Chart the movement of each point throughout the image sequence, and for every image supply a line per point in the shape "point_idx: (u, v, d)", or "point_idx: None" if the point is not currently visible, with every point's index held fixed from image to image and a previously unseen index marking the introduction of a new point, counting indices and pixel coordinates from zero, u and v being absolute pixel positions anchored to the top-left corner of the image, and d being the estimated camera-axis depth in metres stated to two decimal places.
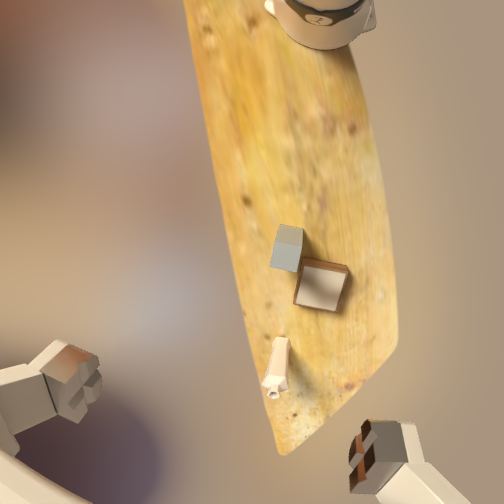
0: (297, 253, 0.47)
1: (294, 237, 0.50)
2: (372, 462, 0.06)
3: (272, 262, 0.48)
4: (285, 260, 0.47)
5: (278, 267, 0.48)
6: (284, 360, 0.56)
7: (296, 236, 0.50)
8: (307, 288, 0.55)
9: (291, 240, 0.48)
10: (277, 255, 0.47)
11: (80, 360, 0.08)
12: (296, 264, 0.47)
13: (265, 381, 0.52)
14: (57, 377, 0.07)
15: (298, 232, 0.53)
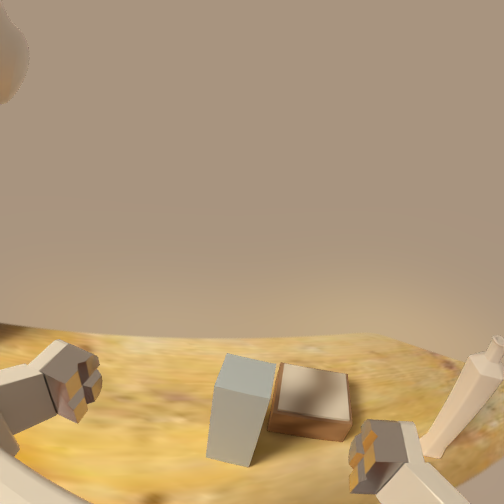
0: (239, 359, 0.25)
1: None
2: (372, 462, 0.06)
3: (259, 393, 0.21)
4: (253, 375, 0.23)
5: (268, 385, 0.22)
6: (449, 397, 0.26)
7: None
8: (317, 405, 0.29)
9: None
10: (244, 384, 0.22)
11: (80, 360, 0.08)
12: (260, 363, 0.25)
13: (493, 375, 0.21)
14: (57, 377, 0.07)
15: None
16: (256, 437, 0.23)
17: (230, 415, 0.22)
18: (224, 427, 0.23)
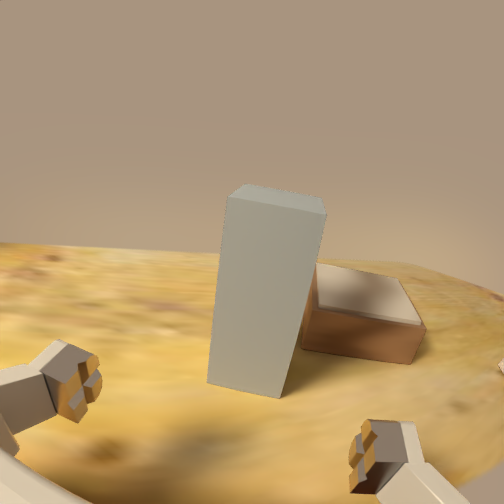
0: (264, 188, 0.16)
1: None
2: (372, 462, 0.06)
3: (306, 209, 0.13)
4: (290, 198, 0.15)
5: (318, 207, 0.14)
6: None
7: None
8: (373, 303, 0.21)
9: None
10: (278, 201, 0.14)
11: (80, 360, 0.08)
12: (298, 194, 0.16)
13: None
14: (57, 377, 0.07)
15: None
16: (298, 320, 0.14)
17: (253, 267, 0.14)
18: (241, 301, 0.14)
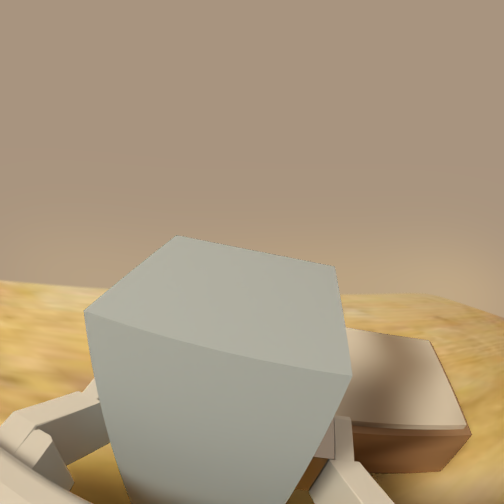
0: (212, 248, 0.08)
1: None
2: None
3: (296, 355, 0.04)
4: (262, 288, 0.06)
5: (329, 323, 0.05)
6: None
7: None
8: (401, 401, 0.12)
9: None
10: (222, 316, 0.05)
11: None
12: (284, 260, 0.08)
13: None
14: None
15: None
16: None
17: (172, 448, 0.05)
18: (163, 482, 0.06)
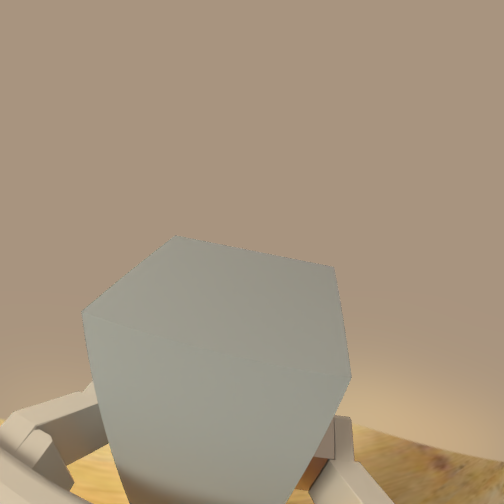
0: (210, 249, 0.08)
1: None
2: None
3: (295, 356, 0.04)
4: (260, 289, 0.06)
5: (328, 324, 0.05)
6: None
7: None
8: None
9: None
10: (220, 317, 0.05)
11: None
12: (283, 261, 0.08)
13: None
14: None
15: None
16: None
17: (170, 449, 0.05)
18: (162, 482, 0.06)
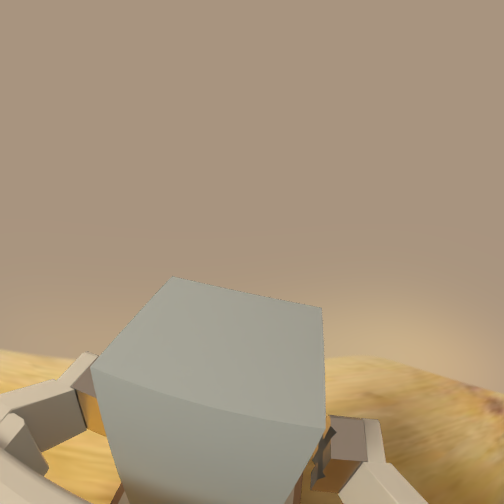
0: (204, 292, 0.08)
1: None
2: (328, 459, 0.06)
3: (277, 409, 0.05)
4: (250, 338, 0.07)
5: (309, 375, 0.06)
6: None
7: None
8: None
9: None
10: (213, 371, 0.05)
11: None
12: (273, 303, 0.08)
13: None
14: (91, 393, 0.07)
15: None
16: None
17: (171, 474, 0.06)
18: (164, 500, 0.06)
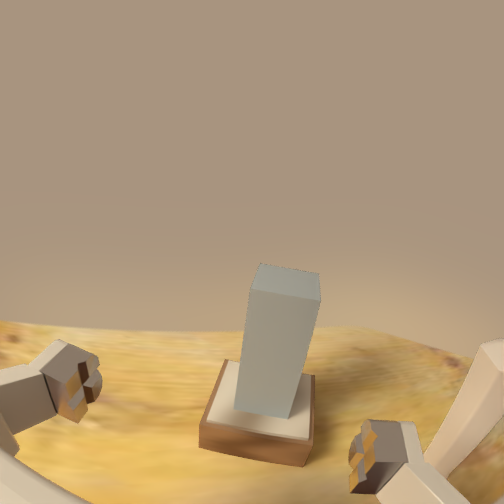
0: (275, 268, 0.21)
1: None
2: (372, 462, 0.06)
3: (306, 296, 0.18)
4: (295, 281, 0.20)
5: (315, 290, 0.19)
6: (453, 406, 0.17)
7: None
8: (264, 416, 0.21)
9: None
10: (286, 288, 0.19)
11: (80, 360, 0.08)
12: (300, 272, 0.21)
13: None
14: (57, 377, 0.07)
15: None
16: (300, 368, 0.20)
17: (268, 334, 0.19)
18: (260, 356, 0.20)
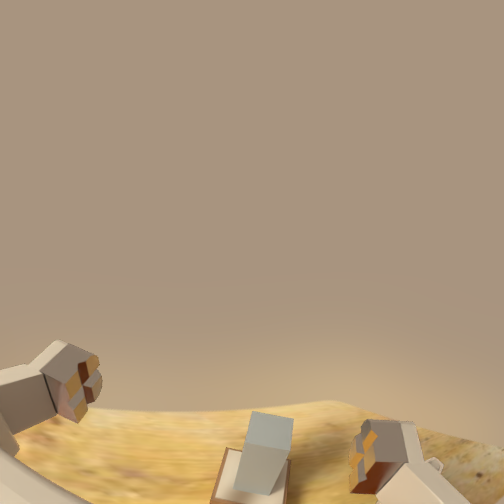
0: (262, 416, 0.28)
1: None
2: (372, 462, 0.06)
3: (281, 446, 0.25)
4: (275, 430, 0.26)
5: (288, 439, 0.25)
6: None
7: None
8: (253, 494, 0.28)
9: None
10: (269, 439, 0.25)
11: (80, 360, 0.08)
12: (280, 418, 0.28)
13: None
14: (57, 377, 0.07)
15: (241, 454, 0.30)
16: (277, 475, 0.26)
17: (256, 461, 0.25)
18: (251, 469, 0.26)
